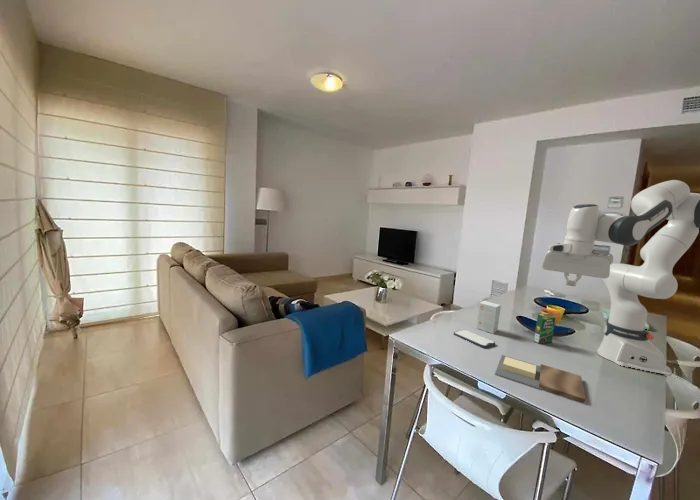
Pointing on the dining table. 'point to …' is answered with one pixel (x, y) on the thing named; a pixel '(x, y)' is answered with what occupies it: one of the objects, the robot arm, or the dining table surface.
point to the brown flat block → (561, 383)
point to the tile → (519, 367)
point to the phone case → (475, 339)
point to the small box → (488, 316)
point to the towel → (607, 312)
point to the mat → (516, 376)
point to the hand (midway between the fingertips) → (570, 285)
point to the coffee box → (544, 328)
